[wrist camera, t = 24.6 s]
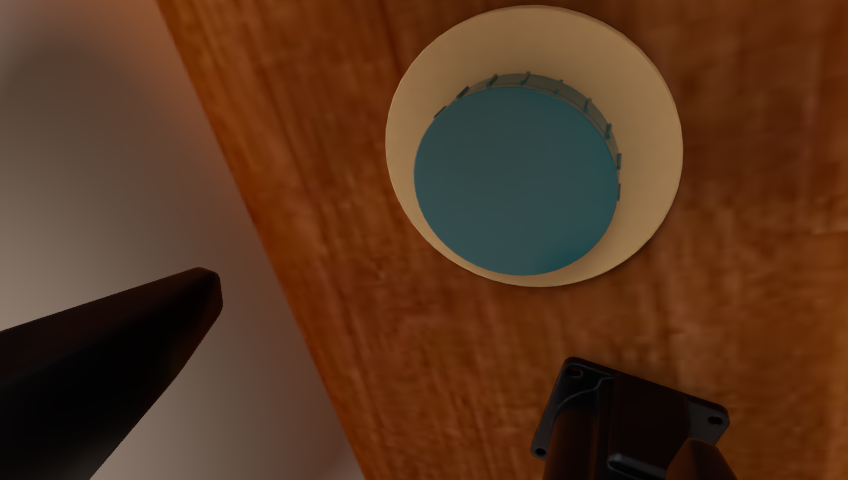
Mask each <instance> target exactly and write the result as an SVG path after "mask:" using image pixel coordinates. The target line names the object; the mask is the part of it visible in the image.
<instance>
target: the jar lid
mask: <svg viewBox="0 0 848 480" xmlns="http://www.w3.org/2000/svg"><path fill="white" fill-rule="evenodd" d="M433 118H434V120H433V121H432V123H431V124H430V125H429V127H428V128H427V129H426V131H425V133H424V135H423V137H422V139H421V141H420V144H419V146H418V149H417V152H416V157H415V161H414V173H413V174H414V187H415V193H416V198H417V201H418V204H419V207H420V209H421V212H422V214H423V216H424V218H425V220H426V221H427V223H428V225H429V226H430V228H431V229H432V231H433V232H434V233H435V234H436V236H437V237H438V238H439V239H440V240H441V241H442V242H443V243H444V244H445V245H446V246H447V247H448V248H449V249H451V250H452V251H453V252H454V253H455V254H457V255H458V256H460V257H461V258H463V259H464V260H466V261H468V262H470V263H472V264H474V265H476V266H478V267H481V268H484V269H486V270H489V271H493V272H497V273H501V274H507V275H519V276H526V275H538V274H544V273H548V272H552V271H555V270H559V269H561V268H563V267H566V266H568V265H570V264H572V263H573V262H575V261H577V260H578V259H580V258H582V257H583V256H584V255H585V254H587V253H588V252H589V251H590V250H591V249H592V248H593V247H594V246H595V245H596V244H597V243H598V242H599V241H600V239H601V238H602V236H603V235H604V234H605V232H606V231H607V229H608V227H609V225H610V223H611V221H612V218H613V215H614V212H615V209H616V204H617V201H619V200H620V190H621V183H619V176H620V170H621V162H622V153H619V152H618V147H617V144H616V140H615V137H614V135H613V132H612V124H611V123H610V124H608V122H607V121H606V119H605V118H604V116H603V115H602V113H601V112H600V111H599V110H598V109H597V108H596V106H595V105H594V104H593V103H592V99H591V98H590V97H589V98H588V99H587V98H586V97H585V96H584V95H583V94H581V93H580V92H578V91H577V90H575V89H574V88H572V87H570V86H568V85H566V84H564V83H563V80H561V79H560V81H558V80H555V79H551V78H548V77H545V76H540V75H534V74H530V72H529V71H527V72H526V74H520V73H516V74H505V75H500V76H498V75H497V74H494V75H493V76H492V77H491V78H489V79H486V80H483V81H481V82H478V83H477V84H475V85H473V86H471V87H468V86H466V87H465V88H464V89H463V90H462V91H461V92H460V93H459V94H458V95H457V96H456V98H455V99H454V100H453V101H452V102H451V103H450V104H449V105H448V106H446V105H445V106H444V107H443V108H442V109H441V110H440V111H439V112H438V113H437V114H436V115H435V116H434V117H433Z"/></svg>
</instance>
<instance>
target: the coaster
mask: <svg viewBox="0 0 848 480" xmlns="http://www.w3.org/2000/svg"><path fill="white" fill-rule="evenodd" d="M527 71H529V72H530V74H534V75H540V76H545V77H548V78H551V79H555V80H558V81H560V79H561V80H563V83H564V84H566V85H568V86H570V87H572V88H574V89H575V90H577V91H578V92H580V93H581V94H583V95H584V96H585V97H586V98H587V99H588V98H589V97H590V98H591V99H592V103H593V104H594V105H595V106H596V108H597V109H598V110H599V111H600V112H601V113H602V115H603V116H604V118H605V119H606V121H607V122H608V124H610V123H611V124H612V132H613V135H614V137H615V140H616V144H617V147H618V152H619V153H622V162H621V170H620V176H619V183H621V190H620V200H619V201H617V204H616V209H615V212H614V215H613V218H612V221H611V223H610V225H609V227H608V229H607V231H606V232H605V234H604V235H603V236H602V238H601V239H600V241H599V242H598V243H597V244H596V245H595V246H594V247H593V248H592V249H591V250H590V251H589V252H588V253H587V254H585V255H584V256H583V257H582V258H580V259H578V260H577V261H575V262H573V263H572V264H570V265H568V266H566V267H563V268H561V269H559V270H555V271H552V272H548V273H544V274H538V275H526V276H519V275H507V274H501V273H497V272H493V271H489V270H486V269H484V268H481V267H478V266H476V265H474V264H472V263H470V262H468V261H466V260H464V259H463V258H461V257H460V256H458V255H457V254H455V253H454V252H453V251H452V250H451V249H449V248H448V247H447V246H446V245H445V244H444V243H443V242H442V241H441V240H440V239H439V238H438V237H437V236H436V234H435V233H434V232H433V231H432V229H431V228H430V226H429V225H428V223H427V221H426V220H425V218H424V216H423V214H422V212H421V209H420V207H419V204H418V201H417V198H416V193H415V187H414V174H413V173H414V161H415V157H416V152H417V149H418V146H419V144H420V141H421V139H422V137H423V135H424V133H425V131H426V129H427V128H428V127H429V125H430V124H431V123H432V121H433V120H434V118H433V117H434V116H435V115H436V114H437V113H438V112H439V111H440V110H441V109H442V108H443V107H444V106H445V105H446V106H448V105H449V104H450V103H451V102H452V101H453V100H454V99H455V98H456V96H457V95H458V94H459V93H460V92H461V91H462V90H463V89H464V88H465V87H466V86H468V87H471V86H473V85H475V84H477V83H478V82H481V81H483V80H486V79H489V78H491V77H492V76H493V75H494V74H497V75H498V76H500V75H505V74H516V73H520V74H526V72H527ZM385 148H386V158H387V166H388V170H389V174H390V179H391V182H392V185H393V188H394V190H395V193H396V196H397V198H398V200H399V202H400V204H401V206H402V208H403V210H404V212H405V213H406V215H407V216H408V218H409V219H410V221H411V222H412V224H413V225H414V226H415V227H416V229H417V230H418V231H419V232H420V234H421V235H422V236H423V237H424V238H425V239H426V240H427V241H428V242H429V243H430V244H431V245H432V246H433V247H434V248H435V249H437V250H438V251H439V252H440V253H442V254H443V255H444V256H445V257H447V258H448V259H450V260H451V261H453V262H455V263H456V264H458V265H459V266H461V267H463V268H465V269H467V270H469V271H471V272H473V273H475V274H477V275H480V276H483V277H485V278H488V279H491V280H494V281H498V282H502V283H506V284H512V285H519V286H528V287H549V286H560V285H566V284H571V283H576V282H580V281H583V280H586V279H590V278H593V277H595V276H597V275H600V274H602V273H604V272H606V271H609V270H610V269H612V268H614V267H615V266H617V265H619V264H620V263H622V262H624V261H625V260H626V259H628V258H629V257H630V256H632V255H633V254H634V253H635V252H637V251H638V250H639V249H640V248H641V247H642V246H643V245H644V244H645V243H646V242H647V241H648V240H649V239H650V238H651V237H652V236H653V234H654V233H655V232H656V230H657V229H658V228H659V226H660V225H661V224H662V222H663V220H664V219H665V217H666V215H667V213H668V211H669V209H670V208H671V206H672V203H673V200H674V198H675V195H676V192H677V190H678V186H679V182H680V177H681V172H682V164H683V140H682V131H681V124H680V120H679V116H678V112H677V109H676V105H675V102H674V99H673V97H672V95H671V93H670V90H669V88H668V86H667V84H666V82H665V80H664V79H663V77H662V76H661V74H660V72H659V71H658V69H657V68H656V66H655V65H654V64H653V62H652V61H651V60H650V59H649V58H648V57H647V56H646V54H645V53H644V52H643V51H642V50H641V49H640V48H639V47H638V46H637V45H636V44H634V43H633V42H632V41H631V40H630V39H628V38H627V37H626V36H625V35H624V34H622V33H621V32H619V31H617V30H616V29H614V28H613V27H611V26H609V25H608V24H606V23H604V22H602V21H600V20H598V19H595V18H593V17H591V16H588V15H586V14H584V13H580V12H576V11H573V10H569V9H565V8H561V7H553V6H545V5H517V6H511V7H505V8H499V9H494V10H491V11H488V12H485V13H482V14H479V15H476V16H474V17H472V18H470V19H467V20H465V21H463V22H461V23H459V24H457V25H455V26H454V27H452V28H451V29H449V30H448V31H446V32H445V33H443V34H442V35H440V36H439V37H437V38H436V39H435V40H434V41H433V42H432V43H431V44H429V45H428V46H427V47H426V48H425V49H424V50H423V51H422V52H421V53H420V54H419V56H418V57H417V58H416V59H415V60H414V61H413V63H412V64H411V65H410V67H409V68H408V70H407V71H406V73H405V75H404V76H403V78H402V79H401V81H400V83H399V86H398V88H397V90H396V92H395V94H394V97H393V100H392V103H391V107H390V110H389V114H388V120H387V127H386V147H385Z"/></svg>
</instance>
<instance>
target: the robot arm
mask: <svg viewBox="0 0 848 480" xmlns="http://www.w3.org/2000/svg"><path fill="white" fill-rule="evenodd" d="M222 307H223V300H222V292H221V284H220V277H219V276H218V274H217V273H215V272H213V271H210V270H207V269H205V268H201V267H197V268H193V269H190V270H187V271H184V272H181V273H178V274H175V275H172V276H169V277H165V278H162V279H159V280H156V281H153V282H150V283H147V284H144V285H141V286H138V287H135V288H132V289H129V290H126V291H122V292H119V293H116V294H113V295H110V296H107V297H104V298H101V299H98V300H95V301H92V302H89V303H86V304H82V305H79V306H76V307H73V308H70V309H67V310H64V311H61V312H58V313H55V314H52V315H49V316H46V317H43V318H40V319H37V320H33V321H30V322H27V323H24V324H21V325H18V326H15V327H12V328H9V329H6V330H3V331H0V480H90V478H91V477H92V476H93V475H94V474H95V472H96V471H97V470H98V469H99V468H100V466H101V465H102V464H103V463H104V462H105V461H106V459H107V458H108V457H109V456H110V455H111V454H112V452H113V451H114V450H115V449H116V448H117V447H118V445H119V444H120V443H121V442H122V441H123V439H124V438H125V437H126V436H127V435H128V433H129V432H130V431H131V430H132V428H134V427H135V425H136V424H137V423H138V422H139V421H140V419H141V418H142V417H143V416H144V415H145V413H146V412H147V411H148V410H149V409H150V408H151V406H152V405H153V404H154V403H155V402H156V401H157V399H158V398H159V397H160V396H161V395H162V394H163V392H164V391H165V390H166V389H167V388H168V386H169V385H170V384H171V382H172V381H173V380H174V379H175V378H176V377H177V375H178V374H179V373H180V371H181V370H182V369H183V367H184V366H185V364H186V363H187V361H188V360H189V359H190V357H191V356H192V354H193V353H194V351H195V350H196V348H197V347H198V345H199V344H200V343H201V341H202V340H203V338H204V337H205V335H206V334H207V332H208V331H209V329H210V328H211V327H212V325H213V324H214V322H215V321H216V319H217V318H218V316H219V315H220V313H221V310H222ZM572 368H576V369H578V370H579V371H575V370H572ZM712 416H717V418H713V417H712ZM729 423H730V420H729V414H728V411H727V410H726V409H725V408H724V407H723V406H721V405H718V404H715V403H712V402H709V401H706V400H703V399H700V398H697V397H694V396H691V395H688V394H685V393H682V392H679V391H676V390H673V389H670V388H668V387H665V386H662V385H659V384H656V383H653V382H650V381H647V380H644V379H641V378H638V377H635V376H632V375H629V374H626V373H623V372H620V371H617V370H614V369H611V368H608V367H605V366H602V365H599V364H596V363H593V362H590V361H587V360H584V359H581V358H577V357H570V358H568V359H566V360H565V361H564V363H563V365H562V368H561V370H560V373H559V375H558V378H557V380H556V383H555V385H554V388H553V390H552V393H551V395H550V398H549V400H548V403H547V405H546V408H545V410H544V413H543V415H542V418H541V420H540V423H539V425H538V428H537V431H536V433H535V436H534V438H533V441H532V445H531V452H532V454H533V455H534V456H535V457H537V458H539V459H542V460H545V461H546V462H545V468H544V474H543V480H738V479H737V478H736V476H735V475H734V473H733V471H732V470H731V468H730V467H729V465H728V463H727V462H726V460H725V459H724V457H723V455H722V454H721V452H720V451H719V449H718V448H717V447H716V446H714V445H715V444H716V442H717V441H718V440H719V438H720V437H721V435H722V434H723V433H724V431H725V430H726V429H727V427H728V426H729Z"/></svg>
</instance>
